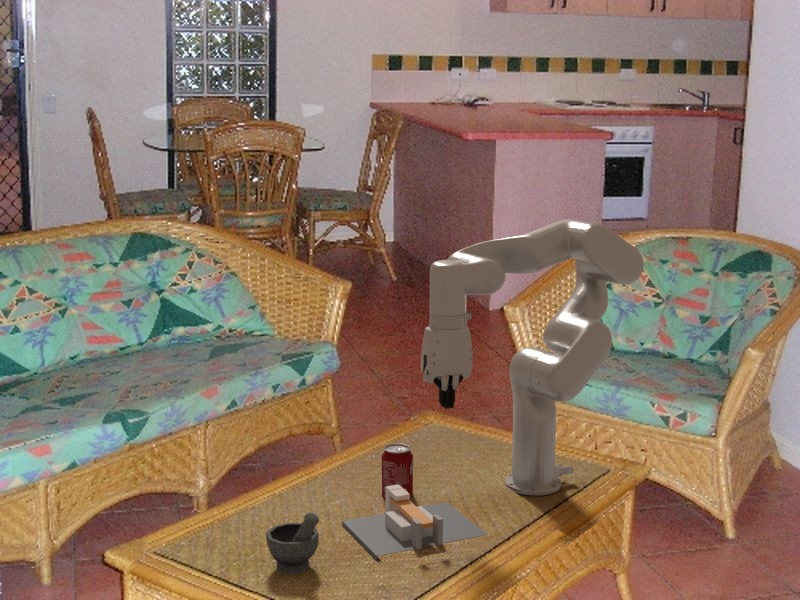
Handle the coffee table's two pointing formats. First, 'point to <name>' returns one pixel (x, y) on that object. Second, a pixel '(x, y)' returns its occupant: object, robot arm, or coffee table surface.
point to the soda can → (397, 467)
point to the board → (391, 544)
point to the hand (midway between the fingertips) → (446, 406)
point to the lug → (394, 496)
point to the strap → (412, 512)
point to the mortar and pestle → (293, 544)
